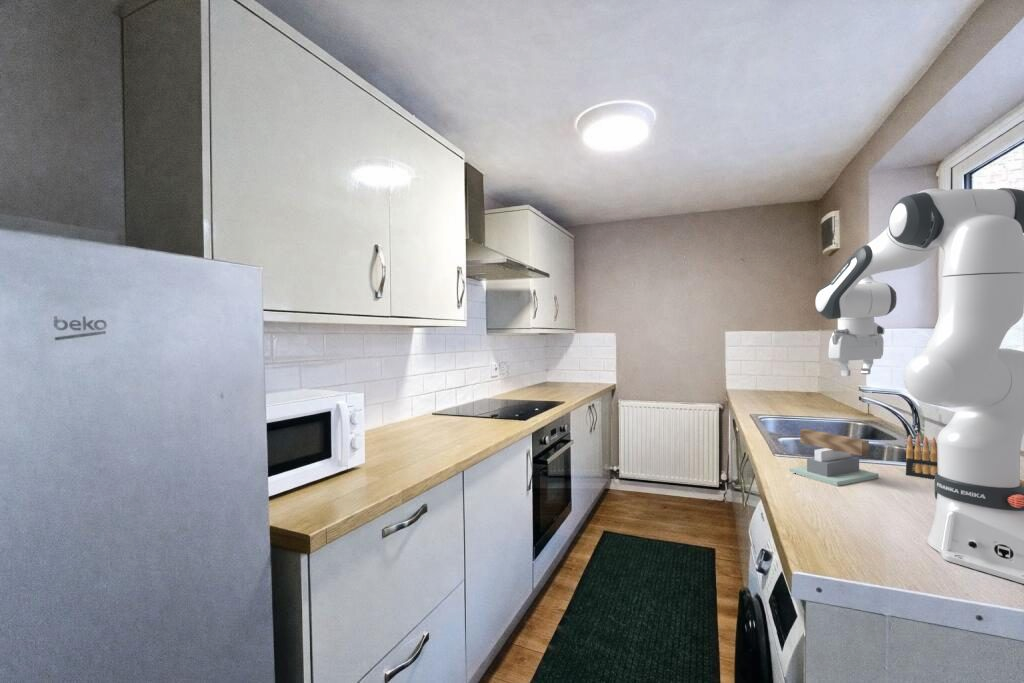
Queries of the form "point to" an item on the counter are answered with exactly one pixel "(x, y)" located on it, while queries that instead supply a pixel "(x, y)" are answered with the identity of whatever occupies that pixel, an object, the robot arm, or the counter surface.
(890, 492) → the counter surface
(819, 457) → the ridge stand
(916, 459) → the ammunition clip
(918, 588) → the counter surface
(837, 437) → the walnut batten
